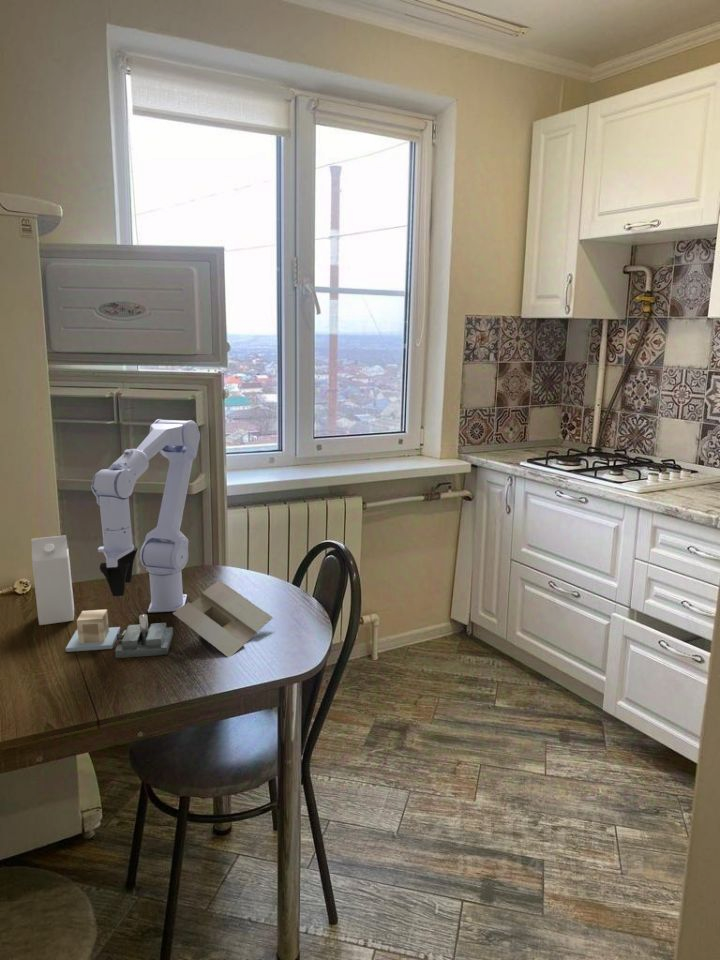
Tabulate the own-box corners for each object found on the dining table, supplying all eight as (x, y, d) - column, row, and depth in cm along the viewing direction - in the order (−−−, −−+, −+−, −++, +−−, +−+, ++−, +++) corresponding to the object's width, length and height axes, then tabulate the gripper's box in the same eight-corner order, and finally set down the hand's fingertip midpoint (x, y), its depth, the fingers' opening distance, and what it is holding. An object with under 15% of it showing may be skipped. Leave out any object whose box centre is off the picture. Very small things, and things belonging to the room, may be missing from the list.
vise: (122, 636, 149) (120, 608, 147) (173, 633, 150) (171, 605, 149) (113, 658, 139) (110, 627, 138) (167, 654, 140) (165, 624, 139)
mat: (76, 633, 151) (76, 629, 150) (120, 630, 152) (120, 626, 152) (66, 651, 142) (65, 648, 142) (112, 648, 143) (111, 645, 143)
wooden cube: (84, 633, 149) (82, 610, 148) (108, 631, 149) (107, 609, 148) (79, 643, 144) (76, 620, 143) (104, 641, 145) (102, 618, 144)
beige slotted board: (257, 637, 157) (211, 589, 159) (275, 616, 152) (227, 568, 154) (211, 679, 144) (161, 627, 146) (229, 658, 139) (177, 604, 141)
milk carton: (41, 614, 161) (32, 534, 157) (74, 609, 163) (66, 531, 159) (39, 626, 154) (29, 543, 150) (73, 621, 157) (65, 539, 153)
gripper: (104, 518, 151) (109, 577, 154) (87, 537, 137) (94, 602, 140) (138, 516, 152) (142, 575, 155) (125, 536, 138) (130, 600, 141)
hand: (122, 588), depth 148 cm, fingers open, 7 cm apart
